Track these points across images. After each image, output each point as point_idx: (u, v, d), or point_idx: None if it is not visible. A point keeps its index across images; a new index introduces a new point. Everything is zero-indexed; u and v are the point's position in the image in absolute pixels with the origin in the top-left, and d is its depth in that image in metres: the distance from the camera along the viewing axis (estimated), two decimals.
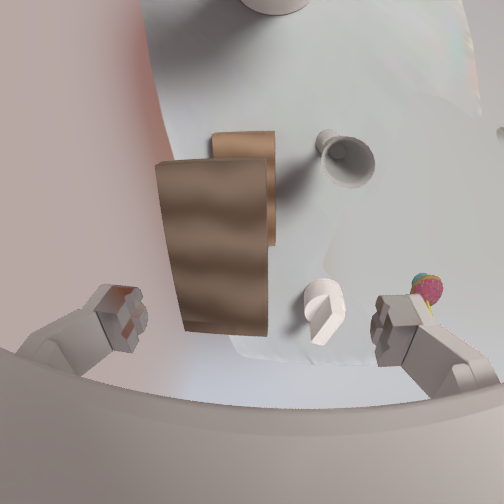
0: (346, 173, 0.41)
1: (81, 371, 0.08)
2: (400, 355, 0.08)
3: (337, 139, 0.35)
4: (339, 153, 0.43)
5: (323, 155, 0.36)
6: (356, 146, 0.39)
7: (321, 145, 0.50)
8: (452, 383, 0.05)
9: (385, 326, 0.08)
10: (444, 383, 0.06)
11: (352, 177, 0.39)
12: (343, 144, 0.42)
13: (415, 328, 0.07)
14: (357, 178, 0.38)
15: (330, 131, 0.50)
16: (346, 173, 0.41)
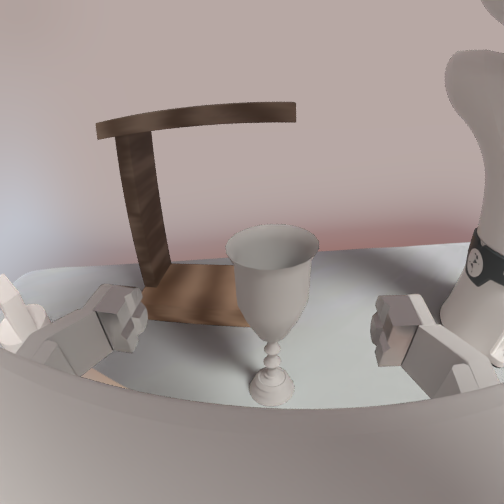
0: None
1: (81, 371, 0.08)
2: (400, 355, 0.08)
3: (310, 239, 0.23)
4: None
5: (283, 229, 0.25)
6: (291, 316, 0.23)
7: None
8: (452, 383, 0.05)
9: (385, 326, 0.08)
10: (444, 383, 0.06)
11: (237, 285, 0.23)
12: (286, 332, 0.25)
13: (415, 328, 0.07)
14: (238, 272, 0.22)
15: (292, 386, 0.30)
16: None
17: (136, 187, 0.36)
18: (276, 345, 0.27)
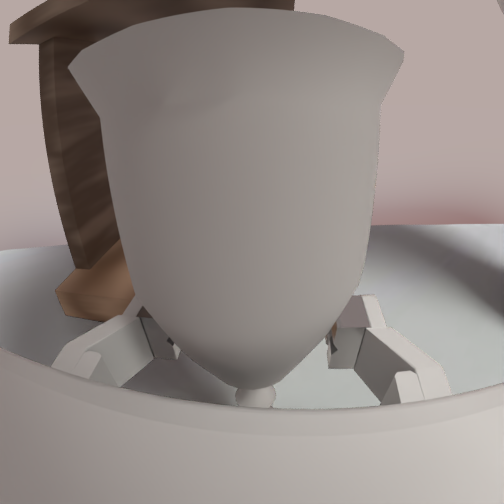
0: None
1: (121, 381, 0.08)
2: (350, 358, 0.08)
3: None
4: None
5: None
6: (316, 319, 0.06)
7: None
8: (394, 391, 0.06)
9: (333, 327, 0.08)
10: (388, 390, 0.06)
11: None
12: None
13: (363, 330, 0.08)
14: None
15: None
16: None
17: (58, 112, 0.20)
18: (264, 390, 0.10)
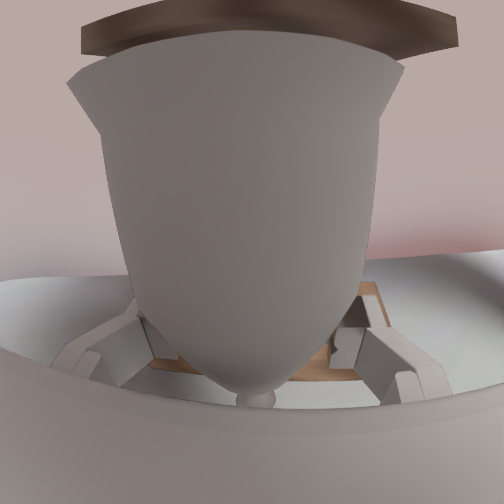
0: None
1: (121, 381, 0.08)
2: (350, 358, 0.08)
3: None
4: None
5: None
6: (316, 329, 0.06)
7: None
8: (394, 391, 0.06)
9: None
10: (388, 390, 0.06)
11: None
12: None
13: (363, 330, 0.08)
14: None
15: None
16: None
17: None
18: (264, 395, 0.10)
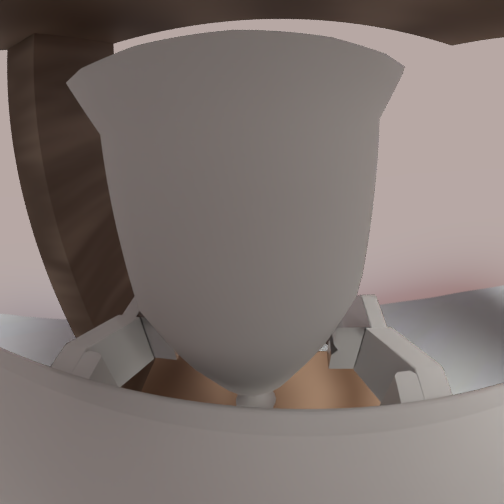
0: None
1: (121, 381, 0.08)
2: (350, 358, 0.08)
3: None
4: None
5: None
6: (316, 330, 0.06)
7: None
8: (394, 391, 0.06)
9: None
10: (388, 390, 0.06)
11: None
12: None
13: (363, 330, 0.08)
14: None
15: None
16: None
17: (53, 190, 0.11)
18: (264, 395, 0.10)
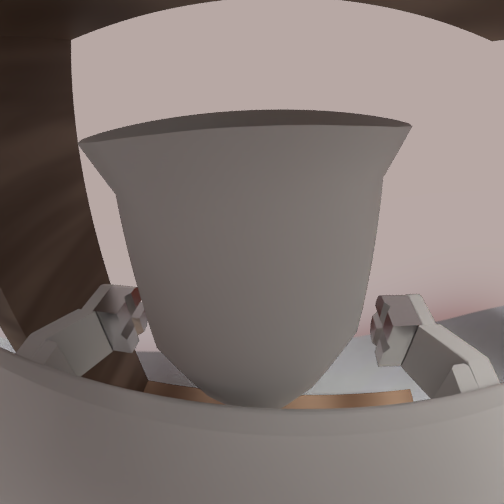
0: None
1: (81, 371, 0.08)
2: (400, 355, 0.08)
3: None
4: None
5: (282, 121, 0.09)
6: None
7: None
8: (452, 383, 0.05)
9: (385, 326, 0.08)
10: (444, 383, 0.06)
11: None
12: None
13: (415, 328, 0.07)
14: None
15: None
16: None
17: None
18: None
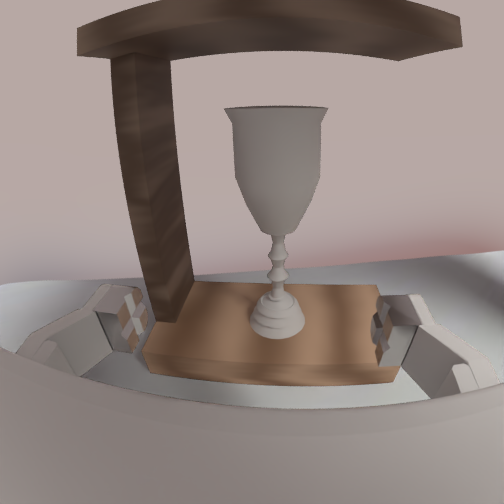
0: None
1: (81, 371, 0.08)
2: (400, 355, 0.08)
3: None
4: None
5: None
6: (302, 187, 0.19)
7: None
8: (452, 383, 0.05)
9: (385, 326, 0.08)
10: (444, 383, 0.06)
11: (236, 151, 0.19)
12: (295, 223, 0.21)
13: (415, 328, 0.07)
14: None
15: (302, 316, 0.26)
16: (238, 181, 0.20)
17: (144, 151, 0.19)
18: (283, 248, 0.23)
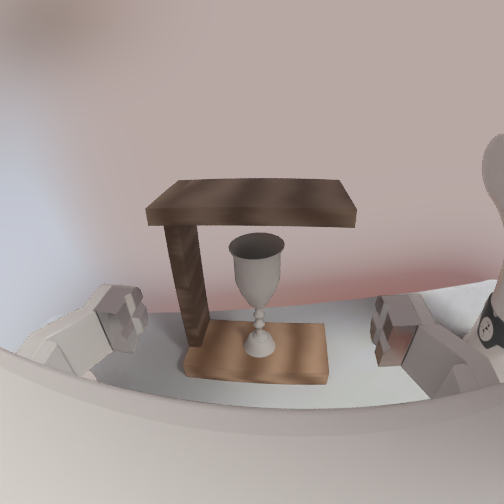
0: None
1: (81, 371, 0.08)
2: (400, 355, 0.08)
3: (280, 242, 0.39)
4: None
5: (264, 236, 0.40)
6: (268, 289, 0.38)
7: None
8: (452, 383, 0.05)
9: (385, 326, 0.08)
10: (444, 383, 0.06)
11: (235, 269, 0.38)
12: (266, 301, 0.41)
13: (415, 328, 0.07)
14: (236, 262, 0.37)
15: (273, 344, 0.46)
16: None
17: (185, 264, 0.39)
18: (261, 311, 0.42)
